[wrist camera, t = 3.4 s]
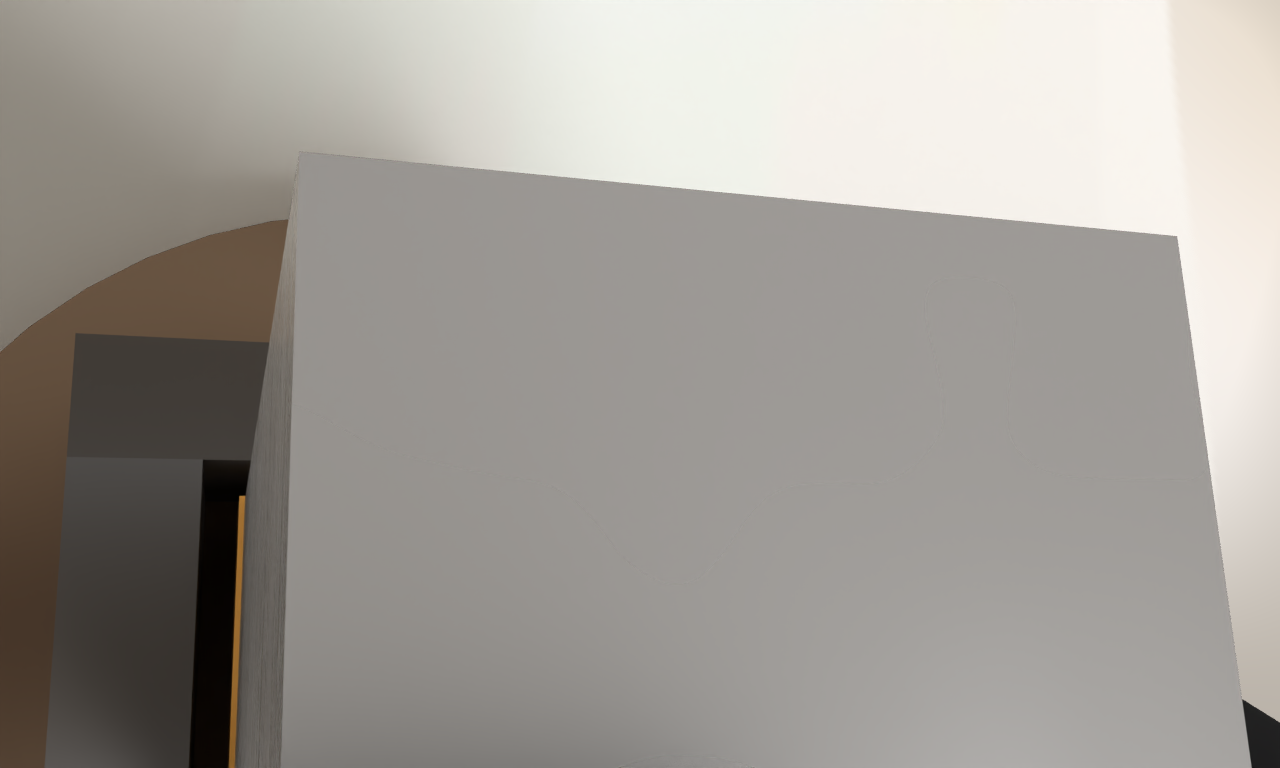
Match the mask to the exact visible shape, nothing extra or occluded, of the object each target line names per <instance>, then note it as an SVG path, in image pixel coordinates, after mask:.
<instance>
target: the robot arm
mask: <svg viewBox="0 0 1280 768" xmlns="http://www.w3.org/2000/svg"><path fill="white" fill-rule="evenodd" d="M1242 703H1243V710H1244V717H1245V724H1246V731H1247V738H1248V746H1249V753H1250V760H1251V767H1252V768H1280V722H1278V721H1276V720H1275V719H1273V718H1272V717H1270V716H1268V715H1267V714H1265V713H1264V712H1262V711H1260V710H1259V709H1257V708H1256V707H1254V706H1252V705H1251V704H1249V703H1247V702H1246V701H1244V700H1242Z"/></svg>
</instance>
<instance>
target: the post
mask: <svg viewBox="0 0 1280 768" xmlns="http://www.w3.org/2000/svg"><path fill="white" fill-rule="evenodd" d="M227 768H1252V767H1251V760H1250V753H1249V746H1248V738H1247V731H1246V724H1245V717H1244V710H1243V703H1242V696H1241V689H1240V682H1239V674H1238V667H1237V660H1236V653H1235V646H1234V639H1233V632H1232V625H1231V617H1230V611H1229V604H1228V596H1227V590H1226V582H1225V575H1224V568H1223V560H1222V553H1221V546H1220V539H1219V532H1218V525H1217V518H1216V511H1215V503H1214V496H1213V489H1212V482H1211V475H1210V468H1209V461H1208V454H1207V446H1206V439H1205V432H1204V425H1203V418H1202V411H1201V404H1200V397H1199V389H1198V382H1197V375H1196V368H1195V361H1194V354H1193V347H1192V340H1191V332H1190V325H1189V318H1188V311H1187V304H1186V297H1185V290H1184V283H1183V275H1182V268H1181V261H1180V254H1179V247H1178V240H1177V236H1169V235H1158V234H1148V233H1137V232H1127V231H1117V230H1106V229H1096V228H1086V227H1075V226H1065V225H1054V224H1044V223H1034V222H1023V221H1013V220H1003V219H992V218H982V217H971V216H961V215H951V214H940V213H930V212H920V211H909V210H899V209H889V208H878V207H868V206H857V205H847V204H837V203H826V202H816V201H806V200H795V199H785V198H774V197H764V196H754V195H743V194H733V193H723V192H712V191H702V190H691V189H681V188H671V187H660V186H650V185H640V184H629V183H619V182H608V181H598V180H588V179H577V178H567V177H557V176H546V175H536V174H525V173H515V172H505V171H494V170H484V169H474V168H463V167H453V166H443V165H432V164H422V163H411V162H401V161H391V160H380V159H370V158H360V157H349V156H339V155H328V154H318V153H308V152H299V157H298V164H297V170H296V176H295V183H294V189H293V195H292V202H291V208H290V215H289V221H288V227H287V234H286V240H285V247H284V253H283V259H282V266H281V272H280V278H279V285H278V291H277V298H276V304H275V310H274V317H273V323H272V330H271V336H270V342H269V349H268V355H267V361H266V368H265V374H264V381H263V387H262V393H261V400H260V406H259V413H258V419H257V425H256V432H255V438H254V444H253V451H252V457H251V464H250V470H249V476H248V483H247V489H246V495H245V496H239V503H238V511H237V523H236V548H235V573H234V599H233V624H232V649H231V675H230V700H229V725H228V751H227Z"/></svg>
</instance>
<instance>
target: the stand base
mask: <svg viewBox="0 0 1280 768" xmlns="http://www.w3.org/2000/svg"><path fill="white" fill-rule="evenodd" d="M288 221H289V220H279V221H271V222H266V223H262V224H258V225H253V226H249V227H244V228H240V229H235V230H231V231H227V232H222V233H218V234H213V235H209V236H206V237H204V238H201V239H198V240H195V241H192V242H190V243H187V244H184V245H181V246H178V247H176V248H173V249H170V250H167V251H165V252H162V253H159V254H156V255H153V256H151V257H148V258H146V259H144V260H142V261H140V262H138V263H136V264H134V265H132V266H130V267H128V268H126V269H124V270H122V271H120V272H118V273H116V274H114V275H112V276H110V277H108V278H106V279H104V280H102V281H100V282H98V283H96V284H94V285H92V286H90V287H88V288H86V289H85V290H84V291H82V292H81V293H79V294H78V295H76V296H75V297H73V298H72V299H70V300H69V301H67V302H66V303H64V304H63V305H61V306H60V307H58V308H57V309H55V310H54V311H52V312H51V313H49V314H48V315H46V316H45V317H43V318H42V319H40V320H39V321H37V322H36V323H35V324H33V325H32V326H30V327H29V328H28V329H26V330H25V331H24V332H23V333H22V334H21V335H20V336H18V337H17V338H16V339H15V340H14V341H13V342H12V343H10V344H9V345H8V346H7V347H6V348H5V349H4V350H2V351H1V352H0V768H227V751H228V725H229V700H230V675H231V649H232V624H233V599H234V573H235V548H236V523H237V511H238V503H239V496H245V495H246V489H247V483H248V476H249V470H250V464H251V457H252V451H253V444H254V438H255V432H256V425H257V419H258V413H259V406H260V400H261V393H262V387H263V381H264V374H265V368H266V361H267V355H268V349H269V342H270V336H271V330H272V323H273V317H274V310H275V304H276V298H277V291H278V285H279V278H280V272H281V266H282V259H283V253H284V247H285V240H286V234H287V227H288Z"/></svg>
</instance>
